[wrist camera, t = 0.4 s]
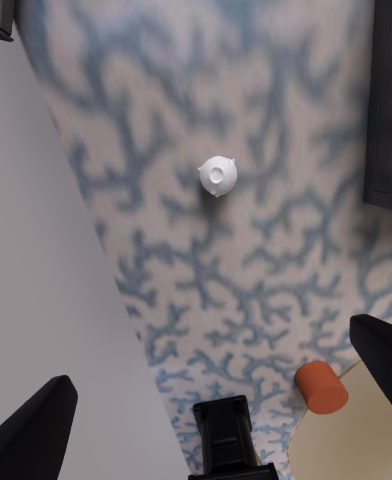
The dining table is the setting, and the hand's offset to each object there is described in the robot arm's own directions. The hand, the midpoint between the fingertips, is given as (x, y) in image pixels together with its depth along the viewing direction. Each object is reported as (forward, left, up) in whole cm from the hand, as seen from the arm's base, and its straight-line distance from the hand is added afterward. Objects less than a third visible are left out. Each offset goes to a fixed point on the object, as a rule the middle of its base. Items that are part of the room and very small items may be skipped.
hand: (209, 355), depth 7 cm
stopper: (-21, -10, -14) cm, 27 cm away
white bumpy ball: (+4, -3, -14) cm, 15 cm away
